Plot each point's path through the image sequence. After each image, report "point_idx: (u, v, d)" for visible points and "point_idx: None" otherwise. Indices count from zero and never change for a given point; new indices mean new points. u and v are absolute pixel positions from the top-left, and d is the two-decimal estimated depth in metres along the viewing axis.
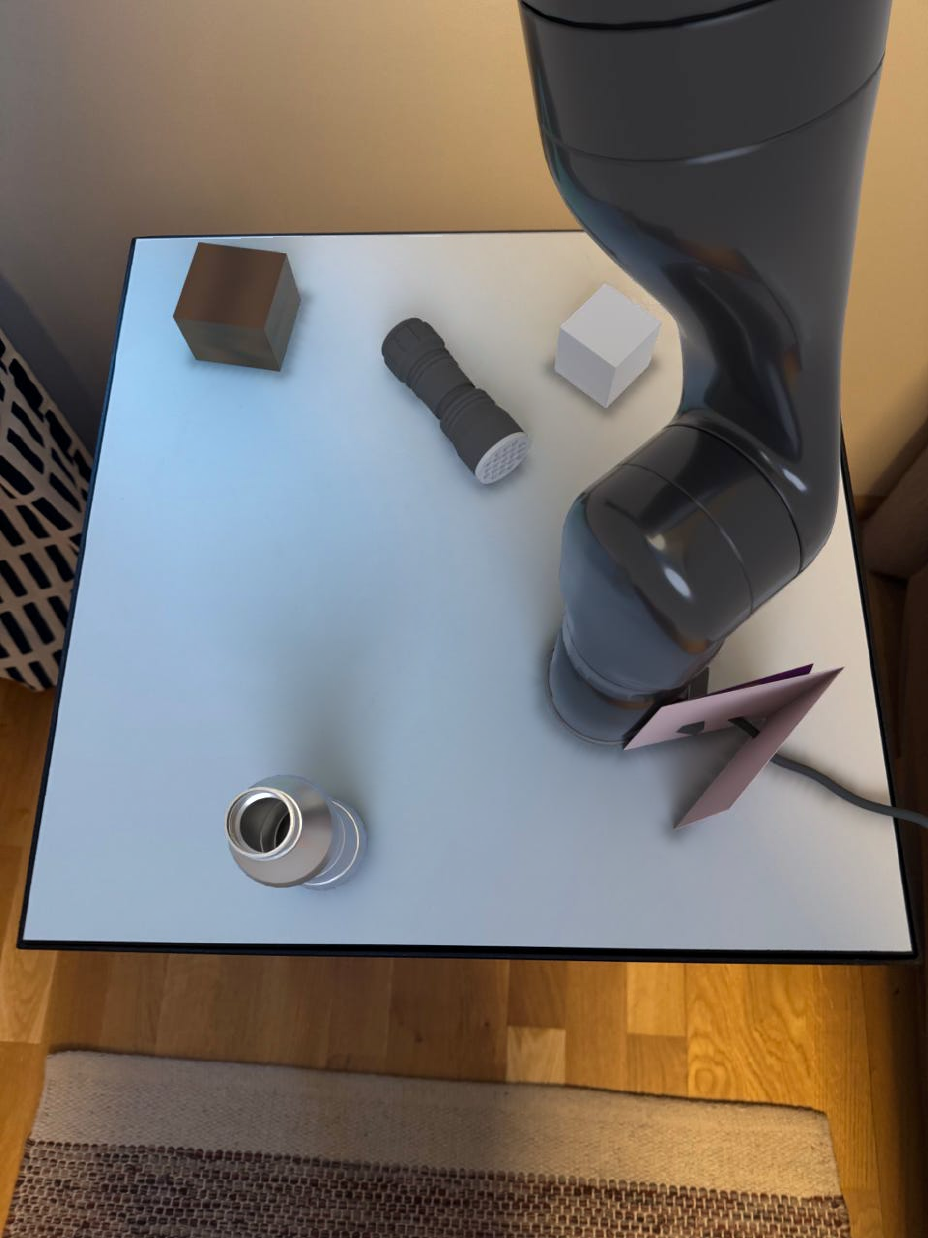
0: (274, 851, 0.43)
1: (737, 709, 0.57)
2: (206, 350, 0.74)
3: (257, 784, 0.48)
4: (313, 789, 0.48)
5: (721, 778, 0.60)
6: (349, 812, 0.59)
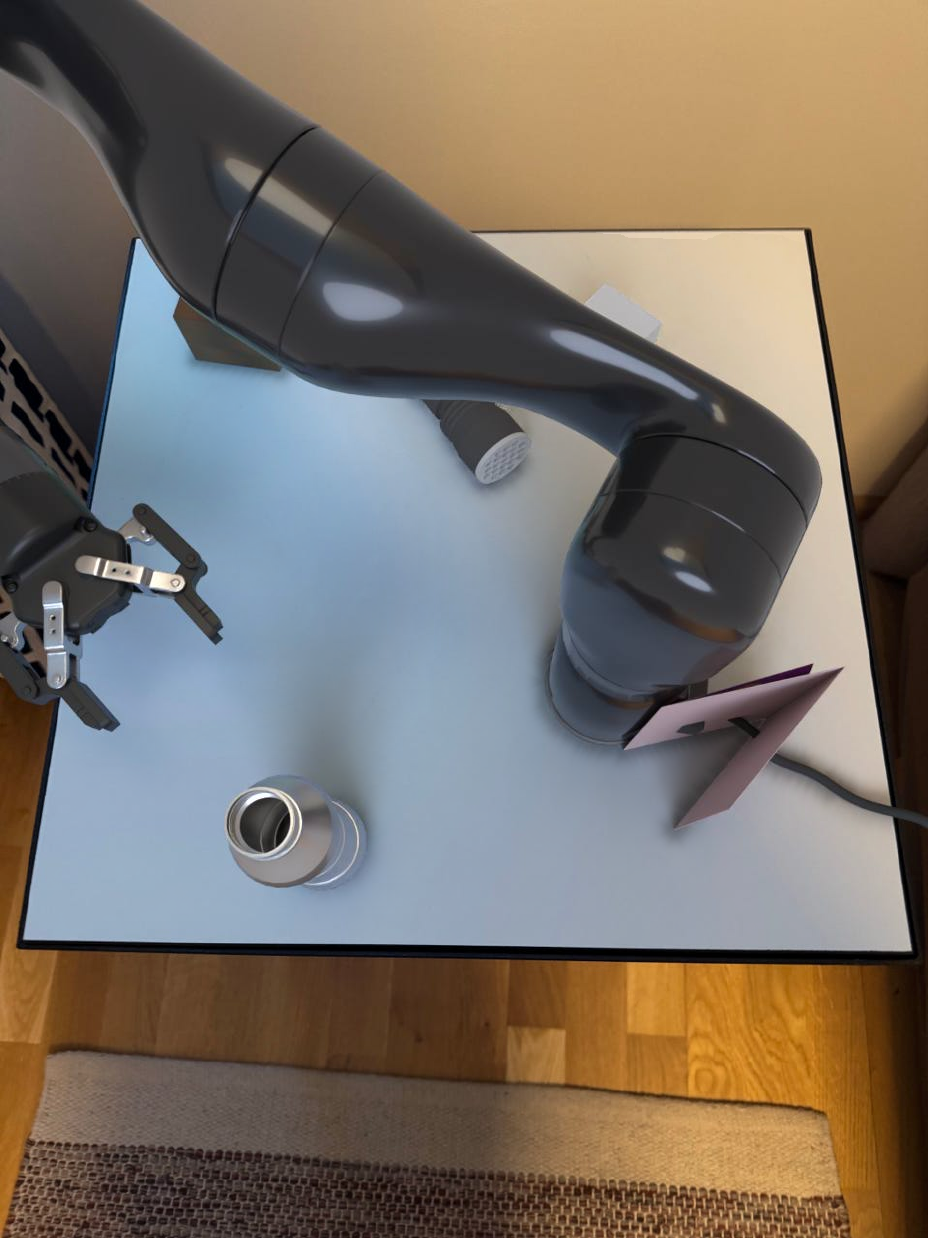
0: (274, 851, 0.43)
1: (737, 709, 0.57)
2: (206, 350, 0.74)
3: (257, 784, 0.48)
4: (313, 789, 0.48)
5: (721, 778, 0.60)
6: (349, 812, 0.59)
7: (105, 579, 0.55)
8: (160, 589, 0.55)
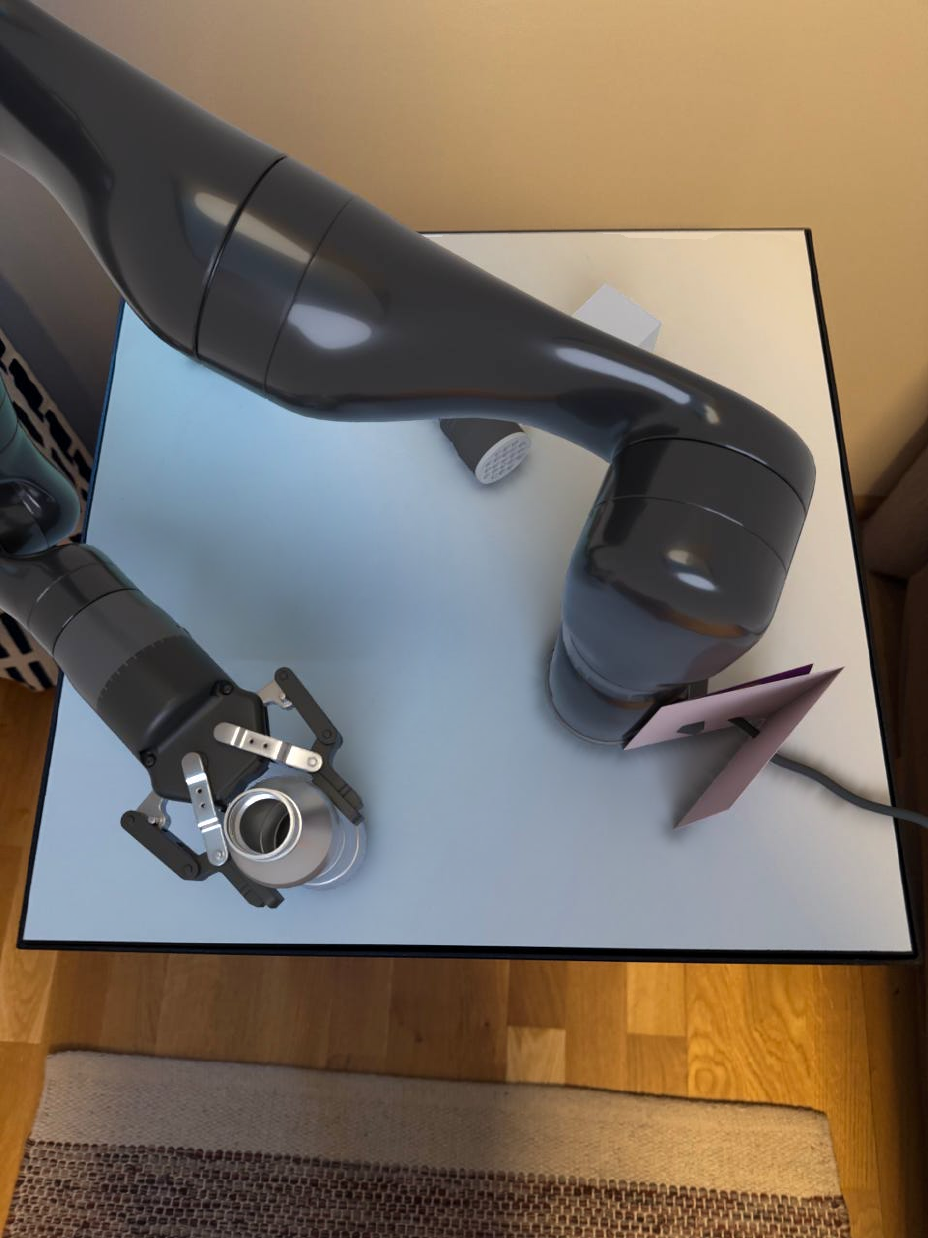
0: (274, 852, 0.43)
1: (737, 709, 0.57)
2: None
3: (257, 785, 0.48)
4: (313, 790, 0.48)
5: (721, 778, 0.60)
6: None
7: (241, 749, 0.51)
8: (296, 767, 0.51)
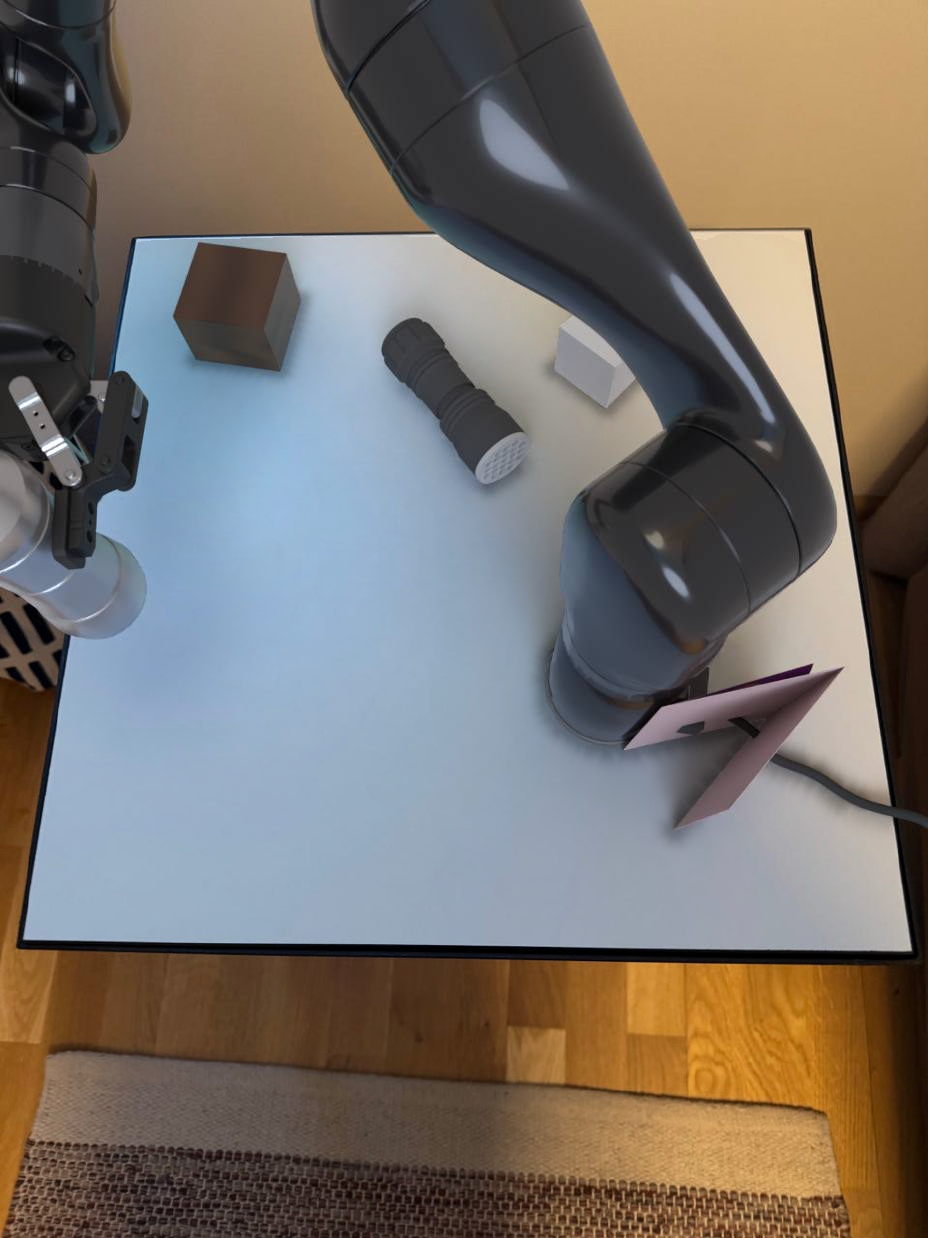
0: None
1: (737, 709, 0.57)
2: (206, 350, 0.74)
3: None
4: (22, 488, 0.40)
5: (721, 778, 0.60)
6: (124, 575, 0.51)
7: None
8: None
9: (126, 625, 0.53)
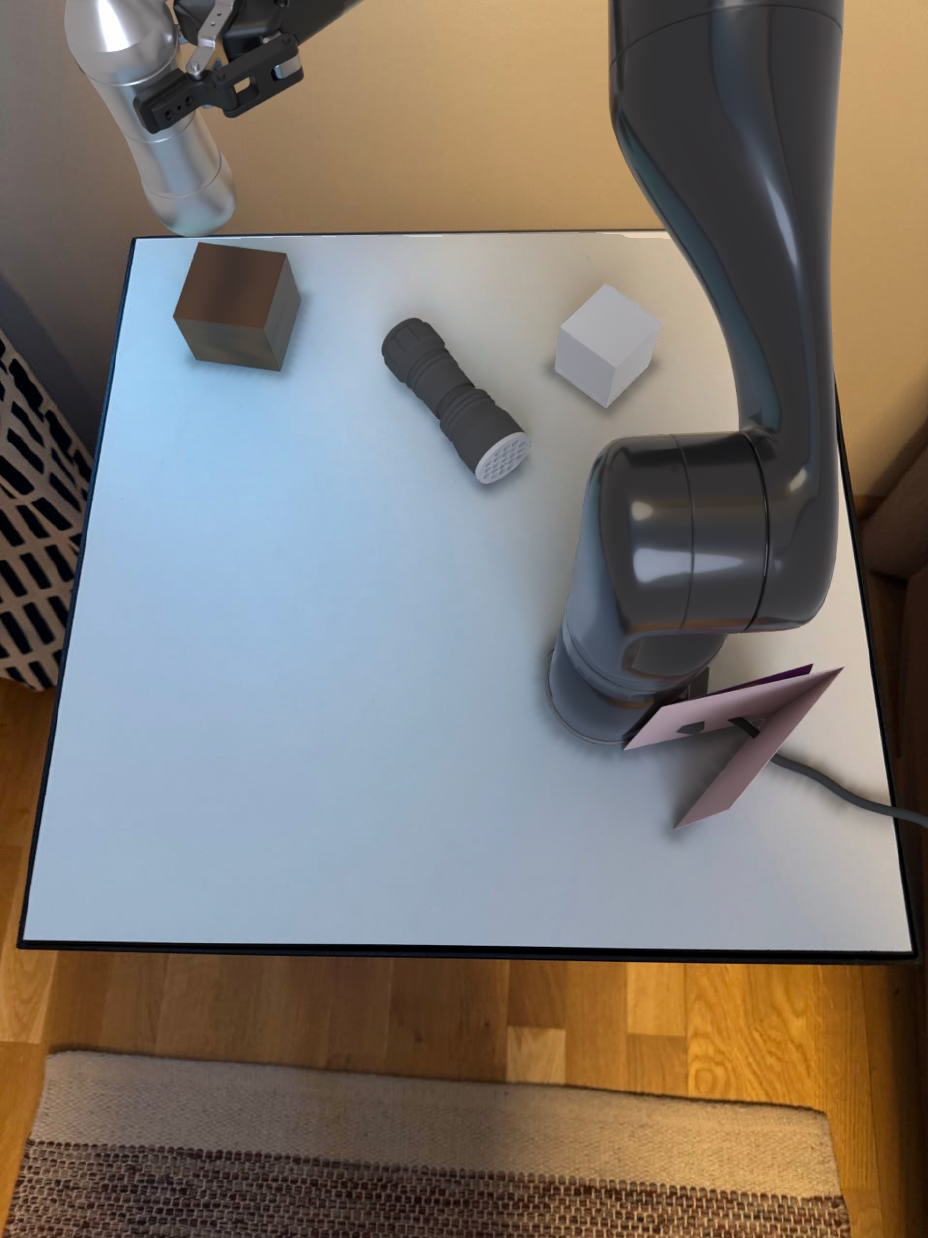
0: None
1: (737, 709, 0.57)
2: (206, 350, 0.74)
3: None
4: (144, 34, 0.49)
5: (721, 778, 0.60)
6: (204, 192, 0.59)
7: None
8: None
9: (184, 231, 0.62)
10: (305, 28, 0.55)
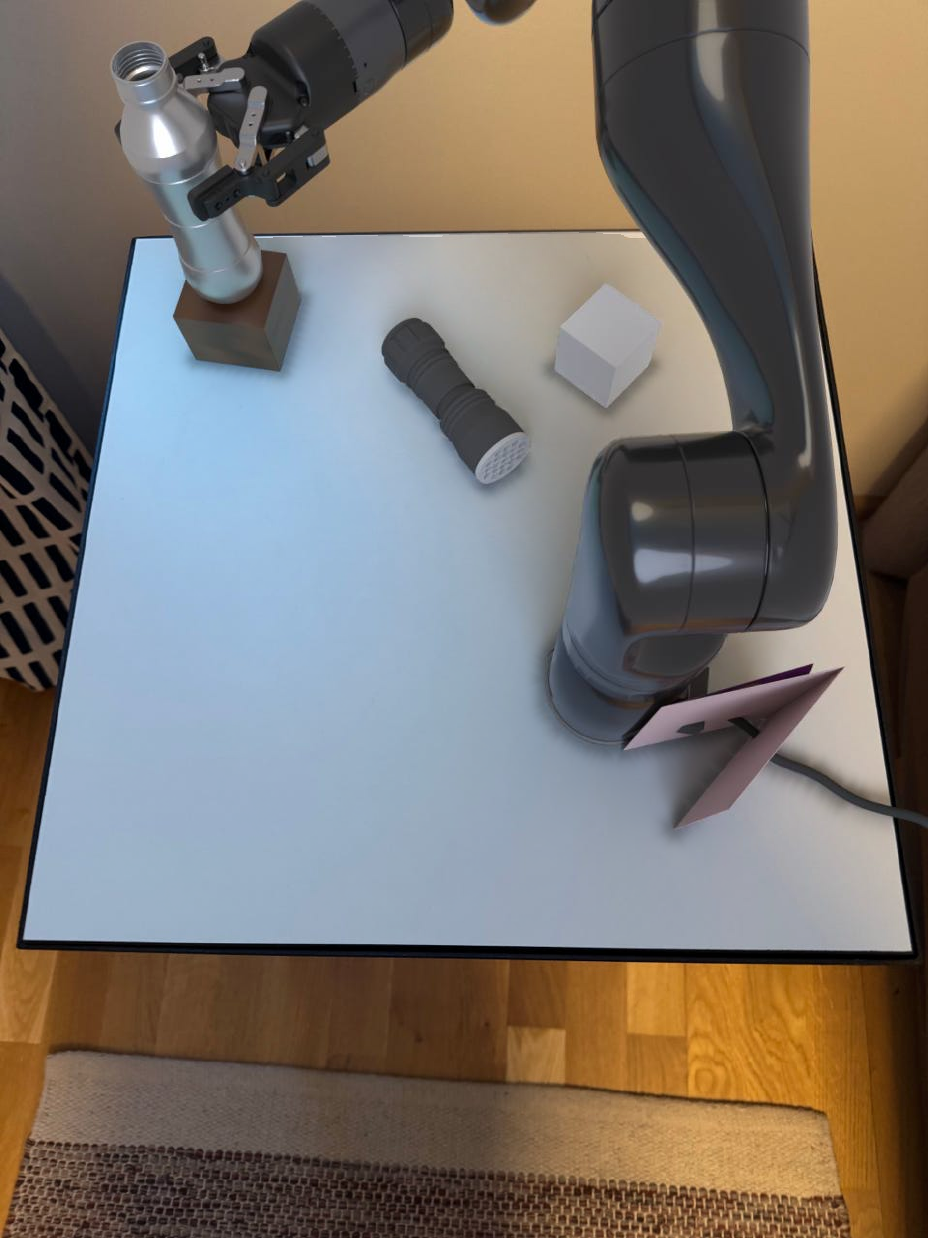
0: (112, 72, 0.52)
1: (737, 709, 0.57)
2: (206, 350, 0.74)
3: (201, 104, 0.57)
4: (190, 143, 0.56)
5: (721, 778, 0.60)
6: (235, 267, 0.67)
7: None
8: None
9: (215, 299, 0.69)
10: (324, 122, 0.62)
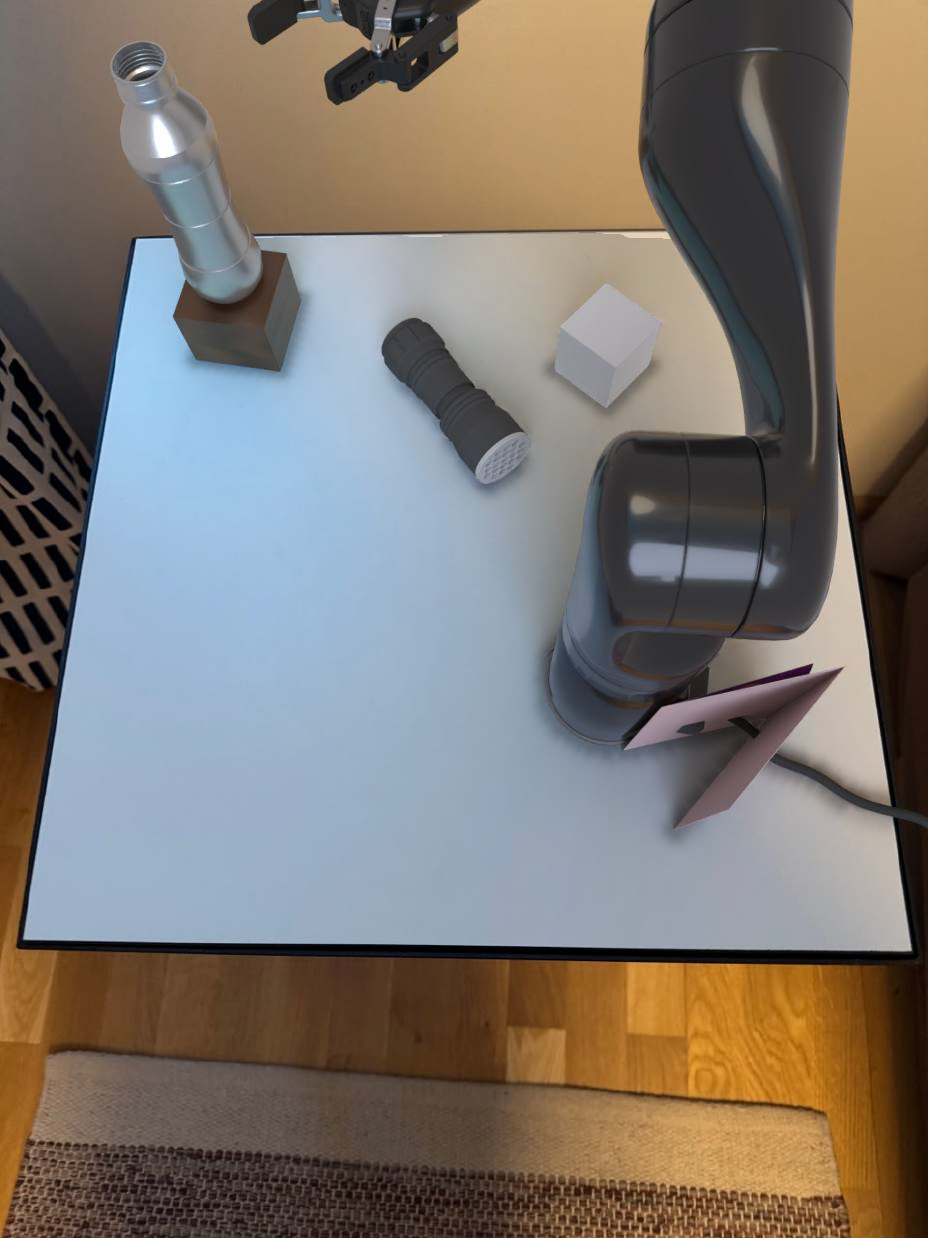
0: (112, 72, 0.52)
1: (737, 709, 0.57)
2: (206, 350, 0.74)
3: (201, 104, 0.57)
4: (190, 143, 0.56)
5: (721, 778, 0.60)
6: (235, 267, 0.67)
7: None
8: None
9: (215, 299, 0.69)
10: None
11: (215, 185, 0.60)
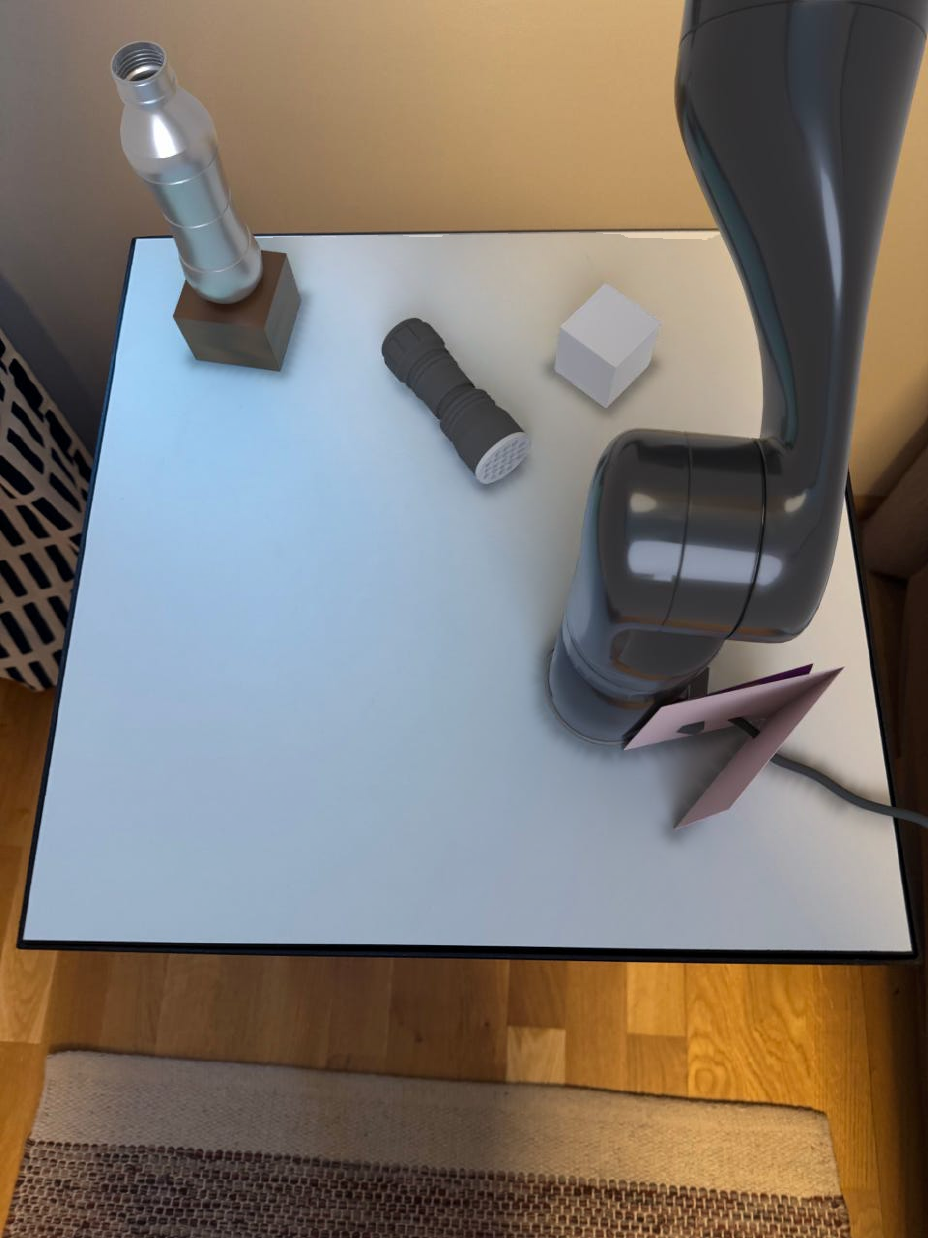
0: (112, 72, 0.52)
1: (737, 709, 0.57)
2: (206, 350, 0.74)
3: (201, 104, 0.57)
4: (191, 143, 0.56)
5: (721, 778, 0.60)
6: (235, 267, 0.67)
7: None
8: None
9: (215, 299, 0.69)
10: None
11: (215, 185, 0.60)
